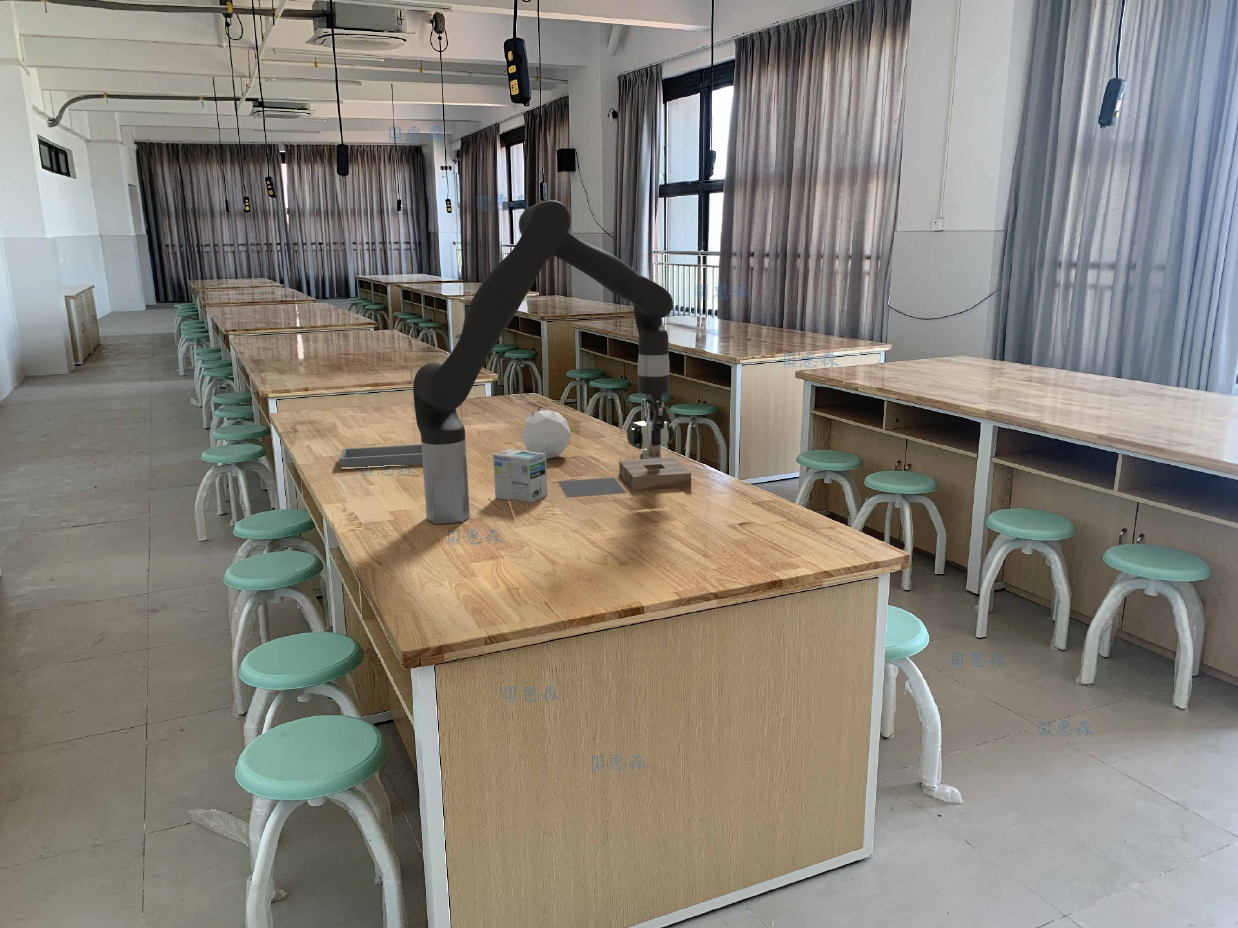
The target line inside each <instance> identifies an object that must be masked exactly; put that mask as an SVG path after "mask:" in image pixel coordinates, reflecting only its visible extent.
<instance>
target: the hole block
mask: <svg viewBox="0 0 1238 928" xmlns="http://www.w3.org/2000/svg"><path fill="white" fill-rule="evenodd" d="M618 467H619V469H618V470H619V473H618V474H619V475H620V477H621V478H622V479H623V481H624V482H625V483H626V484H627V485H628V487H629V488H630V489H631V490H632V491H633V492H642V491H653V490H656V491H657V490H665V489H666V490H667V489H668V490H669V489H680V491H683V490H684V491H685V490H686V491H687V490H692V472H691V471H690V470H689V469H688V468H687V467H685V466H684V465H683V464H681V463H680V462H679V461H678V460H677V459H676V458H674V457H673V456H672V457H661V458H655V459H640V458H639V459H626V460H619V461H618Z"/></svg>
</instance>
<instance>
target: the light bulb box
mask: <svg viewBox="0 0 1238 928" xmlns="http://www.w3.org/2000/svg"><path fill="white" fill-rule="evenodd" d="M492 455H493V475H494V491H495V492H494V493H495V499H499V500H504V501H510V500H518V501H522V502H528V503H533V502H535V501H538V500H541V499H542V498H545V497H547V496H548V495H549V494H548V491H549V490H548V472H547V459H546V453H539V452H530V451H528V450H521V449H513V448H508V449H506V450H501V451H498V452H495V453H493V454H492Z"/></svg>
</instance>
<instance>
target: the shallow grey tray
mask: <svg viewBox="0 0 1238 928" xmlns="http://www.w3.org/2000/svg"><path fill="white" fill-rule="evenodd" d="M338 460H339V469H340V468H342V467H368V466H384V465H413V466H421V465H420V464H423V459H422V444H421V443H419V444H416V443H415V444H403V445H401V444H400V445H388V446H387V445H386V446H368V447H367V446H366V447H351V448H350V447H348V448H342V450H341V453H340V456H339V457H338Z"/></svg>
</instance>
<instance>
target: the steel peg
mask: <svg viewBox="0 0 1238 928" xmlns="http://www.w3.org/2000/svg"><path fill="white" fill-rule="evenodd" d="M652 417H654V416H652ZM656 424H659V422H656ZM661 447H662V446H661V444H660V445H658V446H653V445H652V444H651V421H650V420H649V419H648V456H650V457H659V456H661V457H662V454H661V453H662V452H661V451H662V450H661Z"/></svg>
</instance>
